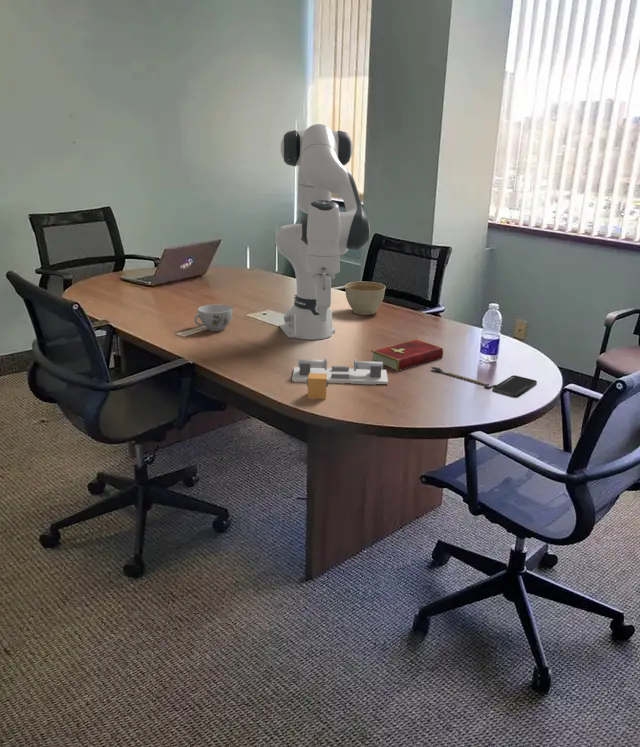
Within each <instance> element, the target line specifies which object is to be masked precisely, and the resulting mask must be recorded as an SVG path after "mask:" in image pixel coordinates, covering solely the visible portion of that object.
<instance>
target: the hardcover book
mask: <svg viewBox="0 0 640 747" xmlns="http://www.w3.org/2000/svg"><path fill="white" fill-rule="evenodd" d="M371 353H372V362H375V361H376V362H383V364H384V365H383V366H385V365H387V366H389V367H388V368H390V367H392V368H391V369H393V368H395V369H397V370H399V371H401V370H400V369H402V370H405V369H404V368H406V369H408V368H407V367H409V368H412V367H411V366H413V367H415V366H414V365H416V366H419V365H422V364H421V363H423V364H425V362H426V363H429V361H430V362H432V360H433V361H436V360H439V358H440V359H442V358H443V357H444V347H442V346H440V345H436V344H434V343H430V342H427V341H425V340H421V339H417V338H414V339H409V340H406V341H402V342H399V343H396V344H390V345H388V346H383V347H379V348H375V349H371ZM435 359H436V360H435ZM418 364H419V365H418ZM387 366H386V367H387ZM395 369H394V370H395Z"/></svg>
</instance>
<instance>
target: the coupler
mask: <svg viewBox="0 0 640 747" xmlns="http://www.w3.org/2000/svg"><path fill="white" fill-rule="evenodd" d="M328 386H329V383H328V380H327V374H318V373H309V375H308V379H307V382H306V387H307V399H308V398H326V399H327V387H328Z"/></svg>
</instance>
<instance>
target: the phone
mask: <svg viewBox="0 0 640 747" xmlns="http://www.w3.org/2000/svg"><path fill="white" fill-rule="evenodd" d="M537 383H538V381H537V380H535V379H532V378H527V377H523V376H520V375H514V374H513V375H511V376H509V377H507V378H506V379H504V380H503V381H501V382H499V383H498V384H495V385H496V386H494V387H492V392H494V393H496V394H497V393H498V394H502V395H505V396H507V397H512V398H518V397H520V396H521V395H523V394H524V393H526V392H528V391H529V390H530V389H532V388H533V387H534V386H537Z"/></svg>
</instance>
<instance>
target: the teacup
mask: <svg viewBox="0 0 640 747" xmlns="http://www.w3.org/2000/svg"><path fill="white" fill-rule="evenodd" d="M233 309H234V307H233V306H232V305H227V304H214V303H213V304H206V305H203V306H199V307H198V308H197V314H195V316H194V323H195V325H197V326H199V327H205V328H207V329H208V330H209V331H211V332H220V331H224V330H225V328H226V327H228V325H229V324H230V322H231V320H232V316H233ZM198 318H199V320H200V322H201V323H199V322H198V321H197V320H198Z"/></svg>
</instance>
